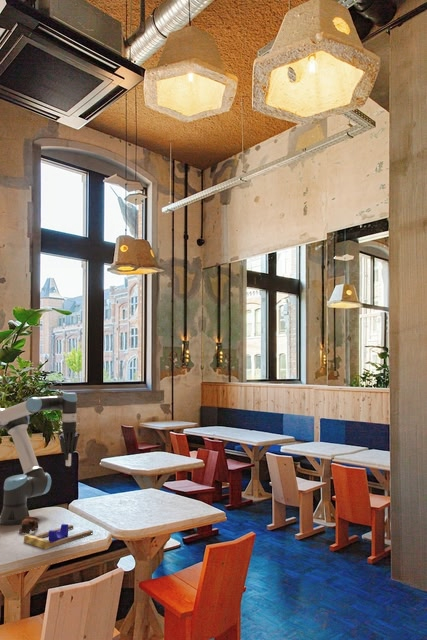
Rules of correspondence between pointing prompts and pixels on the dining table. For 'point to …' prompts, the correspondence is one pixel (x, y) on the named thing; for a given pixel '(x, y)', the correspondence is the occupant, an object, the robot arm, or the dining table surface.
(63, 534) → the cable clip
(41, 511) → the dining table surface
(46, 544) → the guide lane
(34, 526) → the pottery mug
